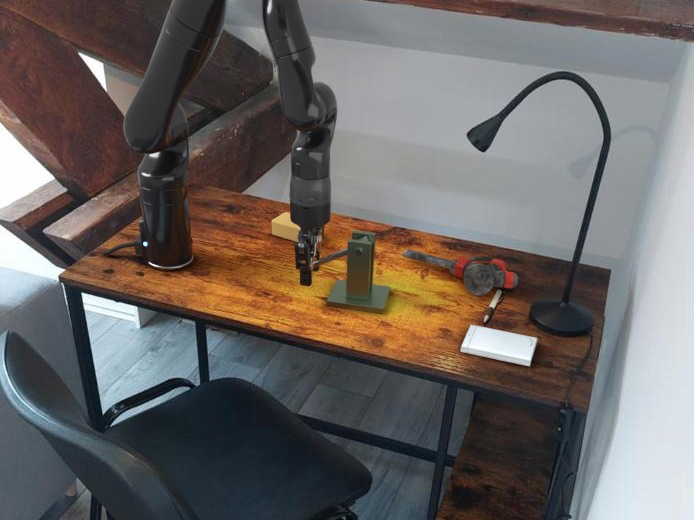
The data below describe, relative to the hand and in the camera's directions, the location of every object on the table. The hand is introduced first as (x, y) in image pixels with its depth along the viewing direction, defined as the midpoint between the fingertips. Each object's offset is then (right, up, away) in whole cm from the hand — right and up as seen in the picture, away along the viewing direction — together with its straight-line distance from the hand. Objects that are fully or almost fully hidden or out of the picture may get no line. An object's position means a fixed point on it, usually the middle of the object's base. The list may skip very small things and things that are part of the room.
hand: (309, 277), depth 158 cm
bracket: (+10, -4, +1) cm, 10 cm away
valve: (+31, +2, +12) cm, 34 cm away
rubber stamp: (-5, +11, +23) cm, 26 cm away
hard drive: (+35, -14, -12) cm, 40 cm away
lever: (+6, +3, -3) cm, 7 cm away
